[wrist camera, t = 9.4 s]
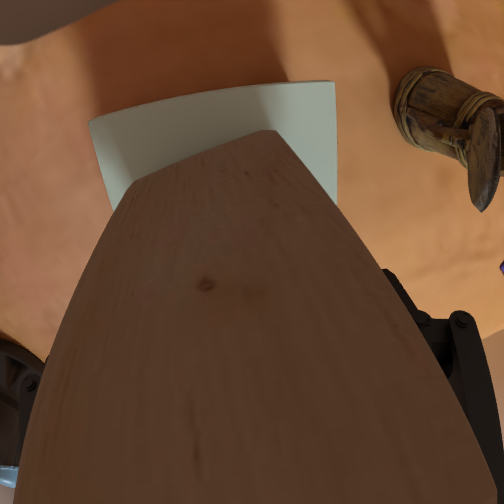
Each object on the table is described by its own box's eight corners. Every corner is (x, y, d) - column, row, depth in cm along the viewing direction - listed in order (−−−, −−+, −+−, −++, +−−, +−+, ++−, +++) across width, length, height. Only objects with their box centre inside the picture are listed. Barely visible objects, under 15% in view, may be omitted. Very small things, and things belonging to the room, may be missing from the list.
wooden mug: (349, 57, 23) (506, 84, 8) (461, 72, 24) (602, 124, 9) (350, 149, 28) (472, 259, 13) (455, 148, 29) (576, 233, 14)
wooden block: (275, 120, 18) (537, 529, 1) (315, 251, 23) (426, 536, 7) (124, 181, 19) (-7, 554, 2) (189, 293, 24) (193, 578, 8)
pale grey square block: (159, 256, 33) (149, 305, 26) (118, 104, 23) (87, 121, 17) (311, 232, 33) (333, 277, 27) (304, 75, 24) (334, 81, 18)
